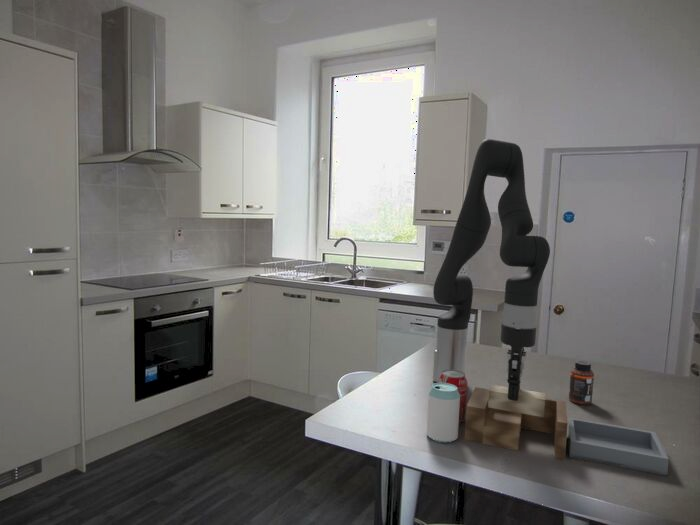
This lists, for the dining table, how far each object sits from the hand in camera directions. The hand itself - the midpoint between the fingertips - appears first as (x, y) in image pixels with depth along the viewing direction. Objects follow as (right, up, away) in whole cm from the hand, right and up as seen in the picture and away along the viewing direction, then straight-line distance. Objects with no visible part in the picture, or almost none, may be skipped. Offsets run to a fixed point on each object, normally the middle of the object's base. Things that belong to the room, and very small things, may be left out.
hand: (513, 395), depth 113 cm
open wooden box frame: (+1, -10, +1) cm, 10 cm away
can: (-17, -10, 0) cm, 19 cm away
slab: (+1, -3, 0) cm, 3 cm away
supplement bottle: (+28, -9, +26) cm, 39 cm away
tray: (+21, -11, -4) cm, 24 cm away
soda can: (-12, -9, +10) cm, 18 cm away
